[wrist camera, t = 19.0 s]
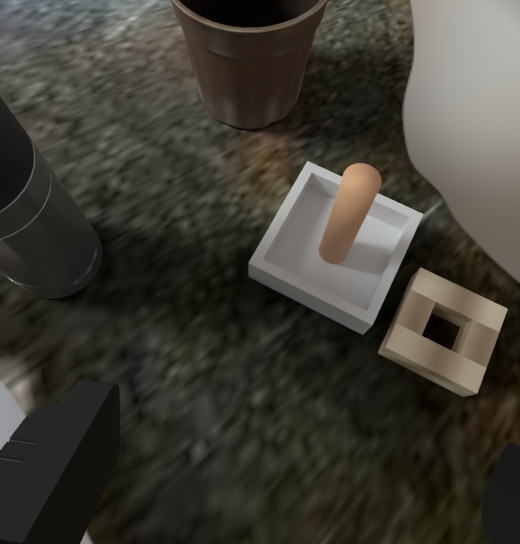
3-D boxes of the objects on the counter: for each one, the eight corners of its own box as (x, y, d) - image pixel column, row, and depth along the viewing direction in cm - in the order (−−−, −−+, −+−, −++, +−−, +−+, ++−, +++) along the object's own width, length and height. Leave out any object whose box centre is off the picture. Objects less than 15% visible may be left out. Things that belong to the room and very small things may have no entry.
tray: (248, 277, 50) (248, 262, 47) (303, 181, 54) (307, 161, 51) (362, 334, 48) (372, 325, 45) (410, 231, 52) (423, 214, 49)
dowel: (314, 256, 50) (336, 186, 37) (326, 232, 51) (352, 157, 38) (340, 268, 50) (372, 203, 37) (352, 245, 51) (387, 173, 38)
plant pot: (195, 29, 62) (177, -107, 47) (321, 44, 61) (344, -89, 46) (170, 135, 56) (141, 19, 41) (309, 152, 56) (331, 41, 41)
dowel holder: (377, 353, 48) (385, 347, 45) (411, 277, 51) (420, 267, 48) (463, 397, 46) (477, 393, 44) (493, 317, 49) (507, 308, 46)
